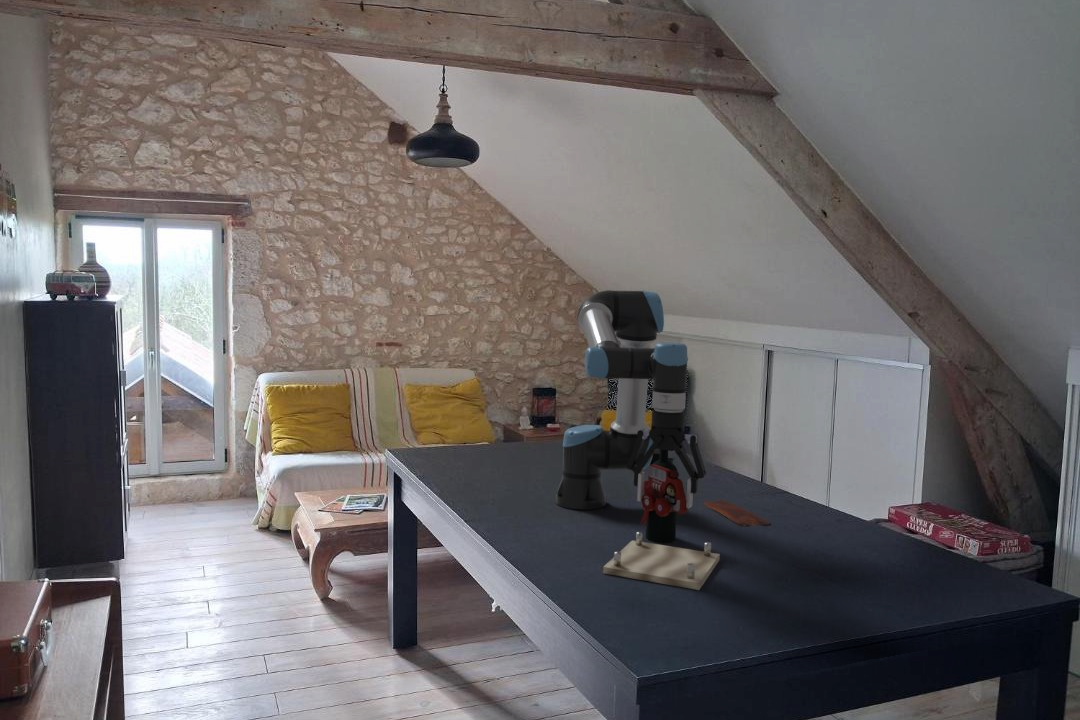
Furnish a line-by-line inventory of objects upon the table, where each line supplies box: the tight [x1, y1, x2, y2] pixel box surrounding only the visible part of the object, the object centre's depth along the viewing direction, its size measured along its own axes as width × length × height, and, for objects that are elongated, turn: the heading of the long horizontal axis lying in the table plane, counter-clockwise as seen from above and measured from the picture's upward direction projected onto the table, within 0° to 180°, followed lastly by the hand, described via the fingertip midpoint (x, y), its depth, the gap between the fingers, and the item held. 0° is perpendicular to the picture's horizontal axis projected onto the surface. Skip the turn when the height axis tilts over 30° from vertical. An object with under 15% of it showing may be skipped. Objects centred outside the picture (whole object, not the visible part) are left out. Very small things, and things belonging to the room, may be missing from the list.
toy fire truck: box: [641, 464, 689, 517], centre depth 188 cm, size 7×12×10 cm, turn 29°
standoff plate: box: [602, 531, 721, 591], centre depth 190 cm, size 22×22×4 cm
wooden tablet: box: [703, 499, 771, 527], centre depth 238 cm, size 27×10×2 cm, turn 14°
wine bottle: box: [640, 450, 679, 544], centre depth 210 cm, size 8×10×30 cm
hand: (664, 503), depth 189 cm, fingers closed on toy fire truck, 11 cm apart
